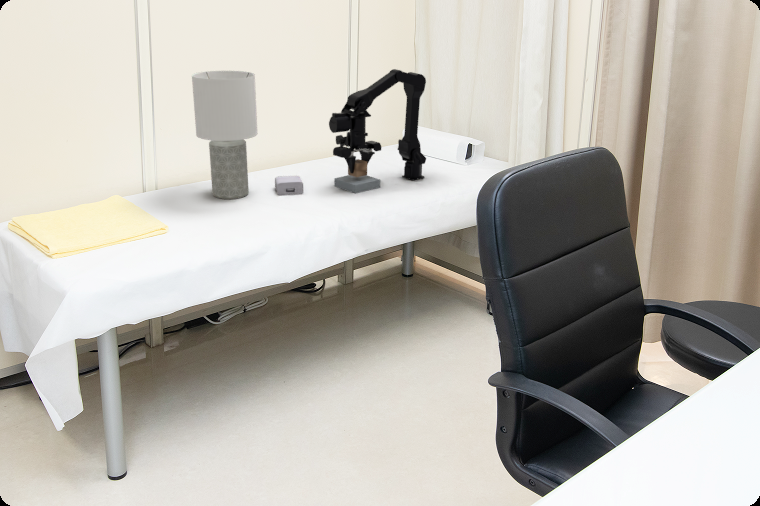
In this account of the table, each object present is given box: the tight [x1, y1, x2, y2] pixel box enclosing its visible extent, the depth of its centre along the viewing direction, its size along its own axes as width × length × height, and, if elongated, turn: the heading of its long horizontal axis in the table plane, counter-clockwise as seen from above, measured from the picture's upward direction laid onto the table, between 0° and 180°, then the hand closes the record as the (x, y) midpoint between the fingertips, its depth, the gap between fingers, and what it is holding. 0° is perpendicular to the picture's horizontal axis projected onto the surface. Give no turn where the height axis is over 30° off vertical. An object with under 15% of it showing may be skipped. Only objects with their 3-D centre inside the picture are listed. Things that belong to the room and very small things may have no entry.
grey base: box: [333, 174, 381, 194], centre depth 273 cm, size 12×12×3 cm
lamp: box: [191, 70, 258, 200], centre depth 255 cm, size 21×21×42 cm
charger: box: [274, 175, 304, 196], centre depth 269 cm, size 5×9×15 cm
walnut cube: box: [347, 158, 368, 177], centre depth 271 cm, size 5×5×5 cm
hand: (357, 172), depth 272 cm, fingers closed on walnut cube, 5 cm apart
